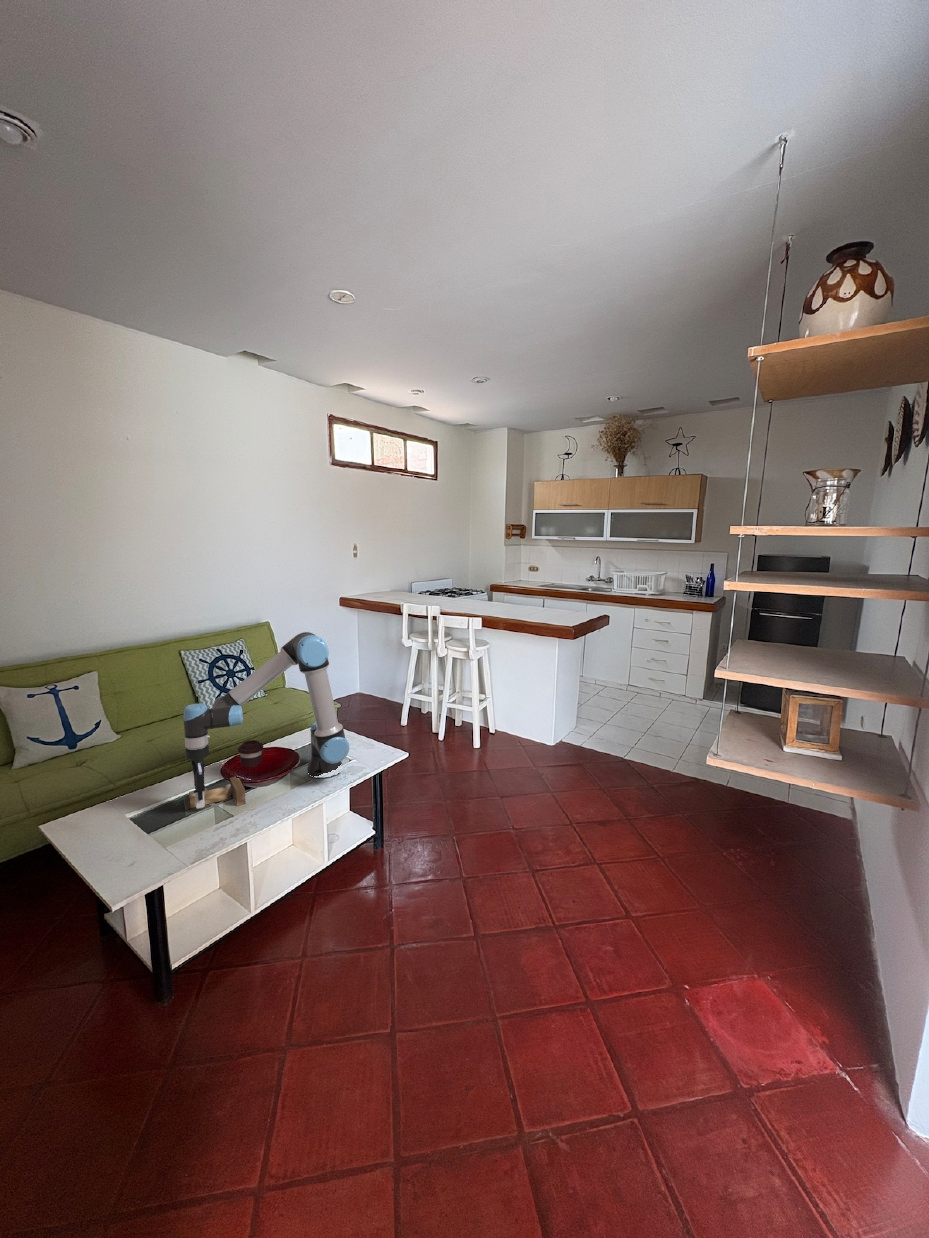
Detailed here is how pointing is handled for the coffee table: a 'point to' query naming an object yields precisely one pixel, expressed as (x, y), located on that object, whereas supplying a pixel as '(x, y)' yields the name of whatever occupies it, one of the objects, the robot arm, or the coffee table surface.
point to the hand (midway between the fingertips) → (200, 806)
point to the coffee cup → (250, 753)
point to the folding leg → (209, 796)
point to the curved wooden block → (237, 791)
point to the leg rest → (194, 793)
